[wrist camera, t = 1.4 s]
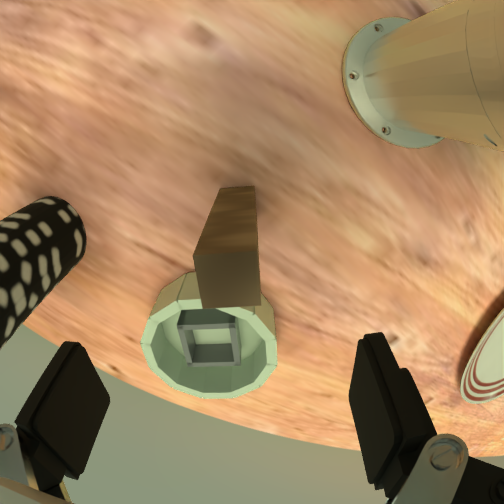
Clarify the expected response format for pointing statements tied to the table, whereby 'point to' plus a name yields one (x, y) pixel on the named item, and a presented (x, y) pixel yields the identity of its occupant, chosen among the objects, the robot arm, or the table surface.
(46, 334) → the table surface
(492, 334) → the dinner plate
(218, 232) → the wooden rectangular post
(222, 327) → the green faceted socket ring
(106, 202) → the table surface
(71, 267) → the white-spotted black cylinder
